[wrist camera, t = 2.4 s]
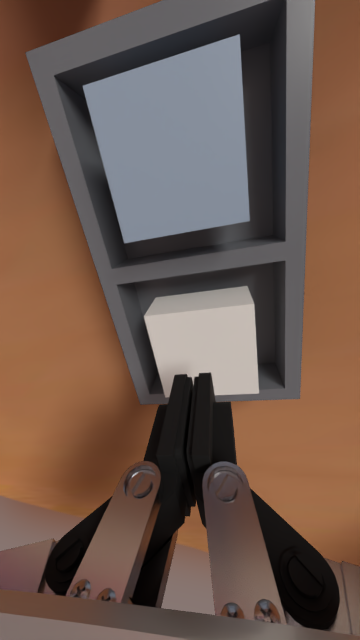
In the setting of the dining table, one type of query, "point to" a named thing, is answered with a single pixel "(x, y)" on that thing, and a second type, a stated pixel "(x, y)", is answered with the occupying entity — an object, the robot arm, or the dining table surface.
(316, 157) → the dining table surface
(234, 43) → the blue key
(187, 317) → the white key
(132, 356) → the key panel
